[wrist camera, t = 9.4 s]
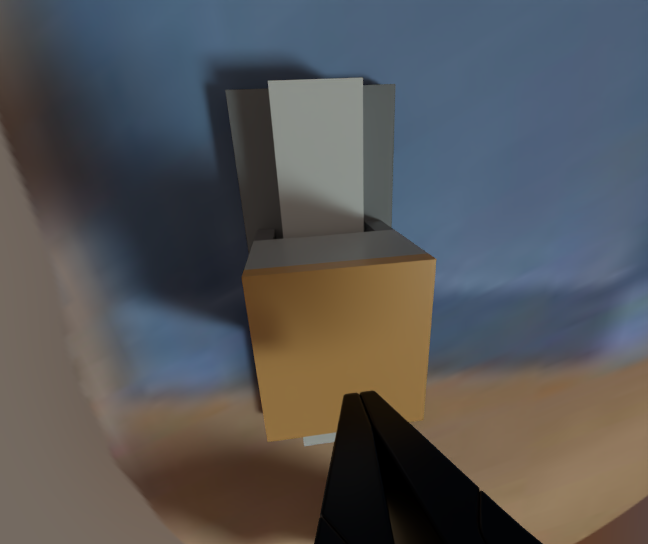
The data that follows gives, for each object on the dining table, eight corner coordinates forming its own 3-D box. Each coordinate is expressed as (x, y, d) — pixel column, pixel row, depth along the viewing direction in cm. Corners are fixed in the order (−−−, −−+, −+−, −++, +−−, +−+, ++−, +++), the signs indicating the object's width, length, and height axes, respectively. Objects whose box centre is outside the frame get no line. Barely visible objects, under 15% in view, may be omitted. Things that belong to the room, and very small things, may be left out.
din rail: (381, 401, 21) (394, 433, 18) (274, 415, 20) (273, 450, 18) (388, 88, 14) (408, 76, 12) (229, 94, 14) (217, 82, 11)
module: (379, 335, 18) (423, 420, 12) (273, 347, 17) (267, 442, 11) (380, 220, 15) (436, 259, 10) (257, 229, 15) (241, 277, 9)
